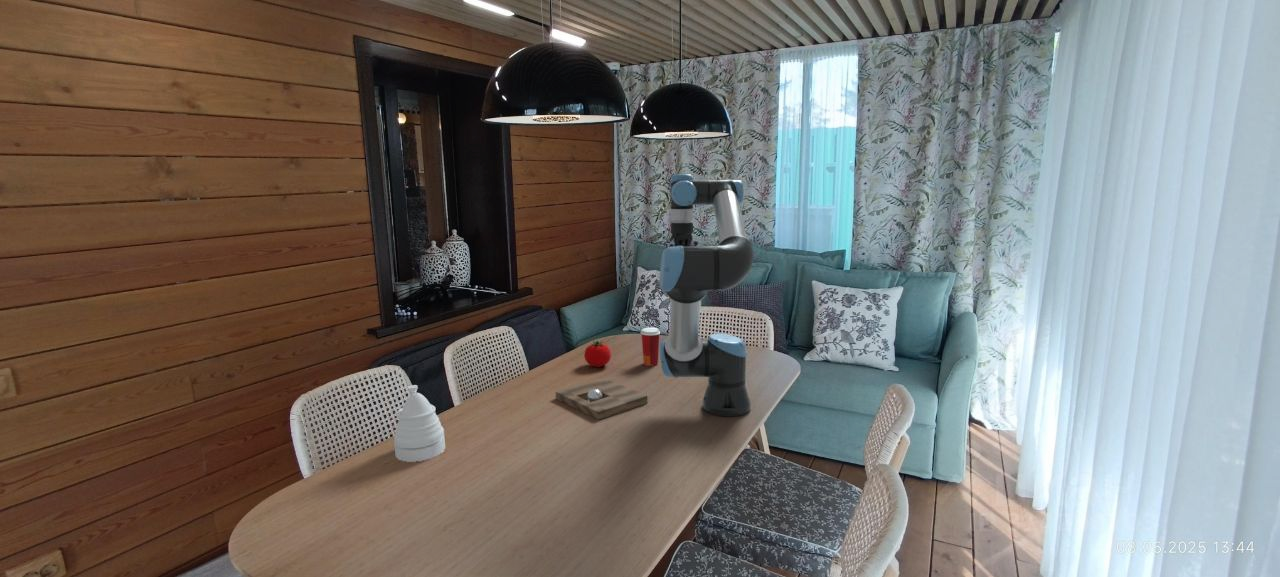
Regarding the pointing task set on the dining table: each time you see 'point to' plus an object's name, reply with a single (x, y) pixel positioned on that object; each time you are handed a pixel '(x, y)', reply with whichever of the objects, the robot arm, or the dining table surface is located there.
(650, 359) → the paper cup
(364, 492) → the dining table surface
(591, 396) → the steel ball
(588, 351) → the tomato
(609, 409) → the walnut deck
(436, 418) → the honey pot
